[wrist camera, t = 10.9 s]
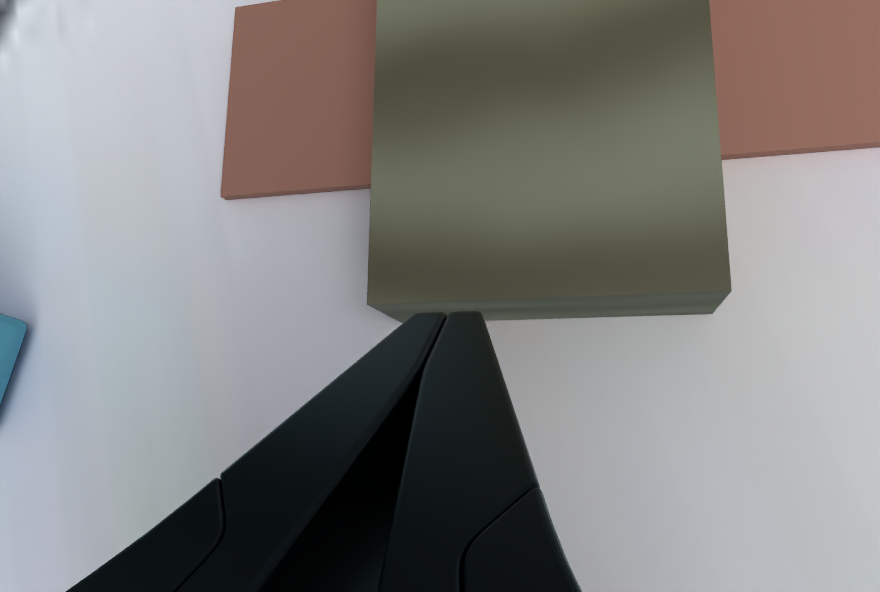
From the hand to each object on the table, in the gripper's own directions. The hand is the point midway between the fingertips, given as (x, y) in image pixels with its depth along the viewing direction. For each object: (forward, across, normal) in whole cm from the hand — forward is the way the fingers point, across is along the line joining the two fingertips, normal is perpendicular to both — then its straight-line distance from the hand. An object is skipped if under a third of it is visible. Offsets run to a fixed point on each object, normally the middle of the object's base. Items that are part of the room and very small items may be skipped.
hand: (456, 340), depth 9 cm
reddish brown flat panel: (+18, 0, +2) cm, 18 cm away
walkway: (+19, 0, 0) cm, 19 cm away
